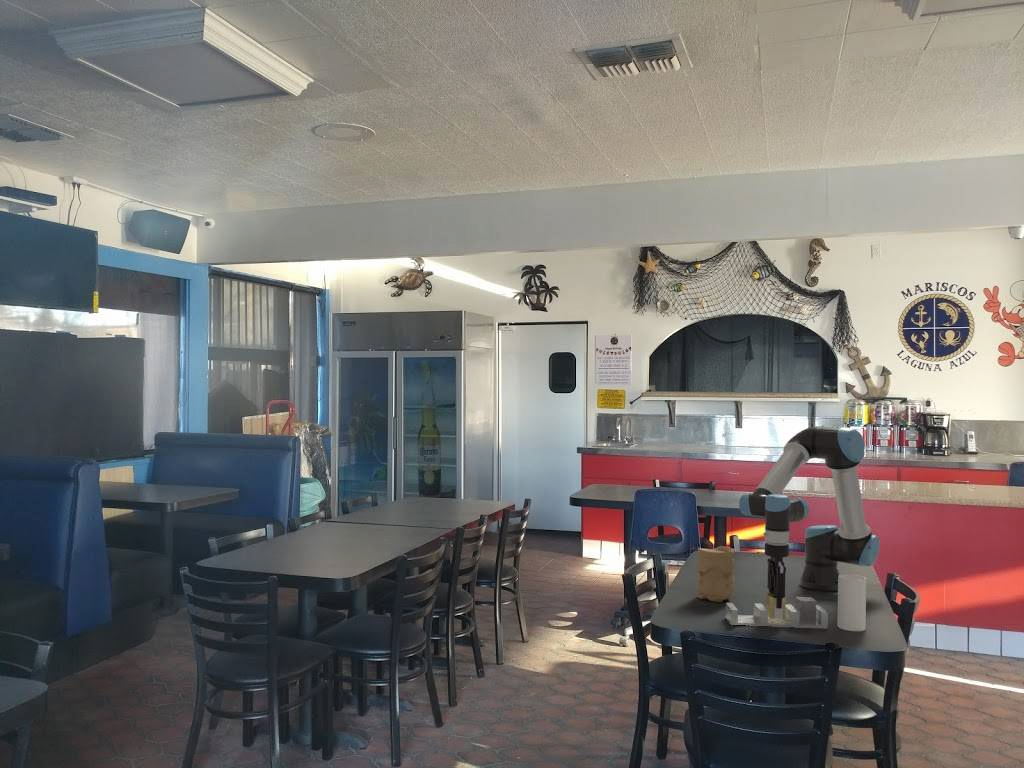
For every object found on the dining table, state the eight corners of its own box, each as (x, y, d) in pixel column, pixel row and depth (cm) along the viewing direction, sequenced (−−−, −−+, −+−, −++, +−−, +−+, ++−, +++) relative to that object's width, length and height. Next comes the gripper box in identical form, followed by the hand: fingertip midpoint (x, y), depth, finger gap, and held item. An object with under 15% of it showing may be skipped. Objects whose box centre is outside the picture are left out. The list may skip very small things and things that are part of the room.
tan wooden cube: (781, 614, 274) (781, 593, 274) (785, 618, 269) (785, 596, 269) (765, 614, 274) (766, 592, 274) (769, 618, 269) (769, 596, 269)
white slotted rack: (818, 620, 275) (819, 596, 275) (827, 628, 266) (828, 603, 266) (725, 617, 277) (726, 593, 277) (731, 625, 268) (731, 600, 268)
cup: (832, 624, 272) (833, 574, 272) (857, 623, 272) (858, 574, 272) (845, 631, 264) (845, 580, 263) (870, 631, 264) (871, 580, 264)
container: (690, 596, 304) (691, 546, 304) (719, 593, 309) (719, 544, 309) (711, 605, 293) (712, 553, 293) (741, 602, 298) (741, 551, 298)
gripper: (758, 537, 281) (757, 607, 281) (772, 548, 263) (770, 623, 263) (781, 538, 281) (780, 608, 281) (796, 548, 263) (795, 623, 263)
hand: (775, 615), depth 272 cm, fingers closed on tan wooden cube, 5 cm apart
